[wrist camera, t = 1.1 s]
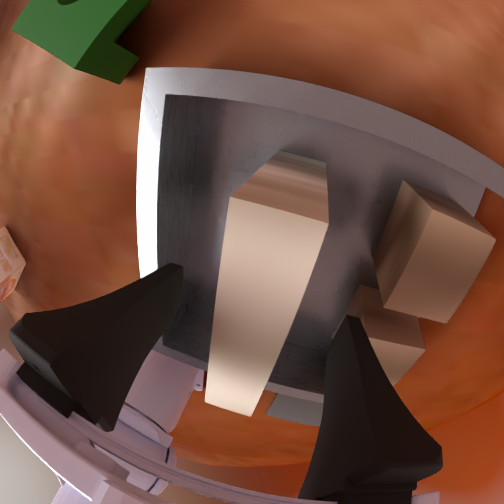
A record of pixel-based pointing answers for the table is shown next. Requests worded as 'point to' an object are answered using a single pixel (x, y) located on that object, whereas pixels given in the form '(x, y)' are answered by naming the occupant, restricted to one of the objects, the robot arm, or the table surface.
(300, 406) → the rubber pad
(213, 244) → the tray
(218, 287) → the birch block
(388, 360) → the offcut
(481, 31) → the table surface
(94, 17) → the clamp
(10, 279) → the coffeecake box
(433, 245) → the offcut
